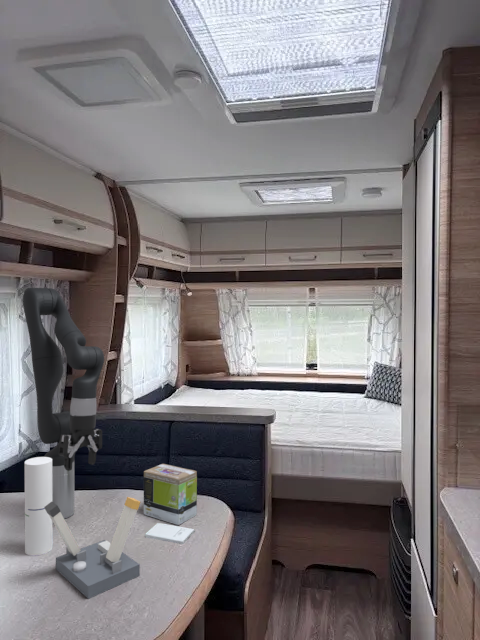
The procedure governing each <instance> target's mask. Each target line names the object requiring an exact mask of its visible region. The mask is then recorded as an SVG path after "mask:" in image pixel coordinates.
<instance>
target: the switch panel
mask: <svg viewBox="0 0 480 640" xmlns="http://www.w3.org/2000/svg"><path fill="white" fill-rule="evenodd" d="M110 544H111V542H110V541H109V540H106V539H103V540H100V541H98V542H96V543H91V544H90V545H87V546H84V547H82V548H80V549H81V551H80V552H79V553H77V556H74V555H72V554H71V553H70V552H69V551H68V549H67V547H66V546H65V549H66V550H65V551H66V552H65V554H62V555H59V556H57V557H55V570H56V571H57V572H58V573H59V574H61V575H62V577H64V578H65V579H66V580H67V581H68V583H71V585H72V586H74V587H75V588H76V589H77V590H78V591H79V592H80V593H81V594H82V595H83V596H85V597H86V598H87V600H89V599H91V598H93V597H95V596H98V595H101V594H102V593H104V592H106V591H109V590H111V589H113V588H116V587H118V586H120V585H122V584H124V583H127V582H130V581H131V580H133V579H136V578H138V577H140V571H141V567H140V563H138V562H137V561H136V560H134V559H133V558H131V557H130V556H128V555H127V554H125V553H124V551H122V554H121V556H120V559H119V561H117V562H114V563H112V567H111V566H110V565H109V564H107V563H106V562H105V561H104V560H105V558H106V555H107V552H108V549H109V547H110Z"/></svg>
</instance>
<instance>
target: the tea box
mask: <svg viewBox="0 0 480 640" xmlns="http://www.w3.org/2000/svg"><path fill="white" fill-rule="evenodd" d="M197 472H198V471H197V470H194V469H189V468H183V467H180V466H175V465H171V464H166V463H161V464H159V465H155V466H154V467H151V468H149V469H145V470H144V471H143V515H145V516H148V517H150V518H154V519H156V520H160V521H163V522H167V523H170V524H172V525H175V526H179V525H182V524H184V523H185V522H187V521H189V520H190V519H192V518H194V517H195V516H196V515H197V513H198V512H197V511H198V510H197V508H198V507H197V506H198V501H197V499H198V497H197V496H198V494H197V493H198V491H197V490H198V489H197V487H198V474H197Z"/></svg>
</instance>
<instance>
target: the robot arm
mask: <svg viewBox="0 0 480 640" xmlns="http://www.w3.org/2000/svg"><path fill="white" fill-rule="evenodd" d="M22 306H23V312H24V317H25V323H26V326H27V330H28V331H27V332H28V337H29V343H30V351H31V352H30V354H31V363H32V370H33V372H32V373H33V377H34V378H33V379H34V384H35V392H36V406H37V408H36V409H37V412H36V413H37V429H38V430H37V431H38V436H39V439H40V441H41V442H42V443H43V444H44V445H50V444H55V443H57V445H56V446H54V447H53V448H52V449H50V450H48V451H47V452H46V453H45V454H44V456H43V457H49V458H52V502H54V503H55V504H56V505H58V507H59V509H60V511H61V514H62V516H63V518H64V520H66V519H68V518H70V517H72V516H73V515H74V514H75V455H76V453H77V451H78V449H80V448H83V447H87V448H88V459H87V463H88V465H92V466H93V465H95V463H96V461H97V452H98V451H99V450H101V449H102V448H103V430H102V429H99V428H96V426H97V425H96V423H97V421H96V420H97V405H98V404H97V392H98V391H97V390H98V389H97V385H98V382H99V379H100V377H101V373H102V369H103V366H104V364H105V355H104V354H105V353H104V351H103V350H102V349H101V348H100V347H99V346H91V345H90V346H86V345H87V340H86V337H85V336H84V334H83V332H82V331H81V330H80V329H79V328H78V326H77V325H76V323H75V322H74V320H73V319H72V317H71V314H70V313H69V310H68V308H67V306H66V304H65V302H64V300H63V297H62V296H61V294H60V293H59V292H58V290H56V289H54V288H50V287H27V288H26V289H25V290H24V292H23V295H22ZM41 316H53V318H55V323H54V328H53V329H54V335H55V338H56V340H57V341H58V342H59V343H60V344H61V346H62V348H63V351H64V354H65V356H66V361H67V364H68V366H69V367H70V368H71V369H74V370H77V371H81V370H84V371H85V372H84V374H83V375H82V376H80V377H76V378H74V379H73V381H72V386H71V387H72V388H71V401H70V407H69V408H70V409H69V411H61V412H55V413H53V401H54V396H55V393H56V391H57V388H58V387H59V384H60V382H61V381H62V377H63V376H64V364H63V363H64V362H63V356H62V352H61V351H62V350H61V349H60V347H59V346H58V344H57V343H56V342H55V340H54V339H53V338H52V337H51V336H50V335H49V333H48V332H47V330H46V328H45V326H44V324H43V320H42V317H41Z"/></svg>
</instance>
